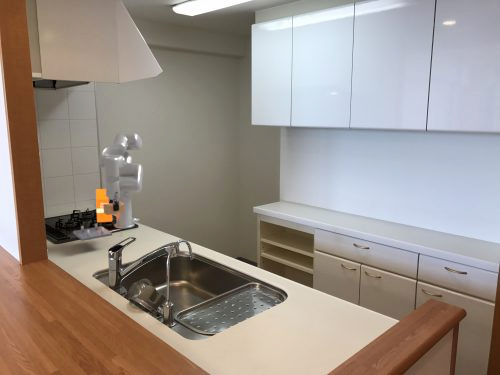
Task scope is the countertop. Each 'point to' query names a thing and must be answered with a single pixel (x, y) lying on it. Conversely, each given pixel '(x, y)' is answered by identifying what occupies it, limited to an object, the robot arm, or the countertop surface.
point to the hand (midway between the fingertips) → (114, 209)
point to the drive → (109, 208)
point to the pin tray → (92, 233)
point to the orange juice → (100, 201)
